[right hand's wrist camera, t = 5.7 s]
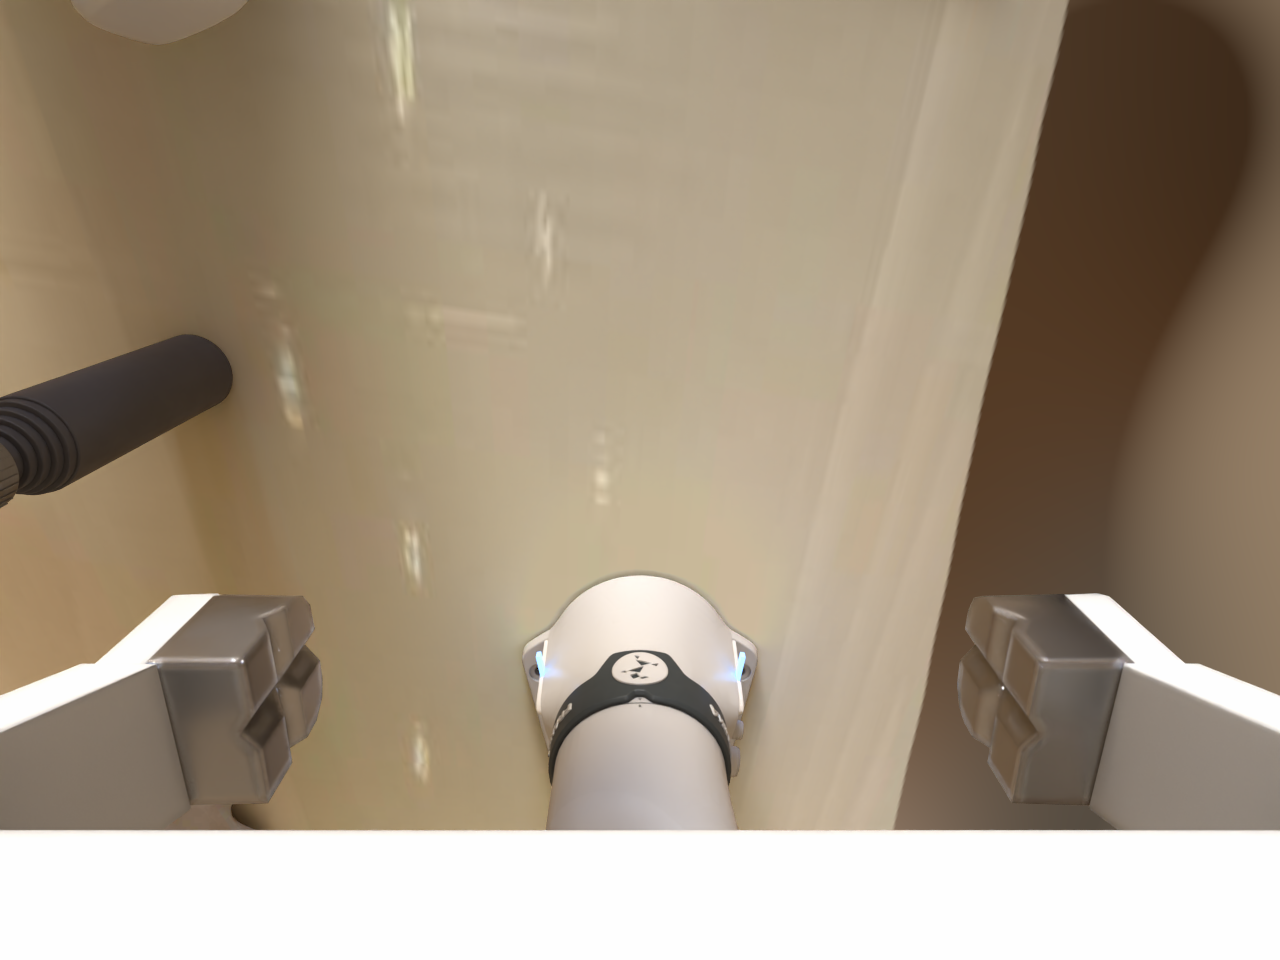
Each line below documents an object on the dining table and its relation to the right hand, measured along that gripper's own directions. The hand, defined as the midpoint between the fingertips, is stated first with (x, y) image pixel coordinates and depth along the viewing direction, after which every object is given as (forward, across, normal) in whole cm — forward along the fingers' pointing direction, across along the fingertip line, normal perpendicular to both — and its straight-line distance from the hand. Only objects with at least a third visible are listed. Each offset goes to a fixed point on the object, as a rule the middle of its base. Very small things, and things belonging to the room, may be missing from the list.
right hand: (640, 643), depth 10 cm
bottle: (+48, -32, -8) cm, 58 cm away
